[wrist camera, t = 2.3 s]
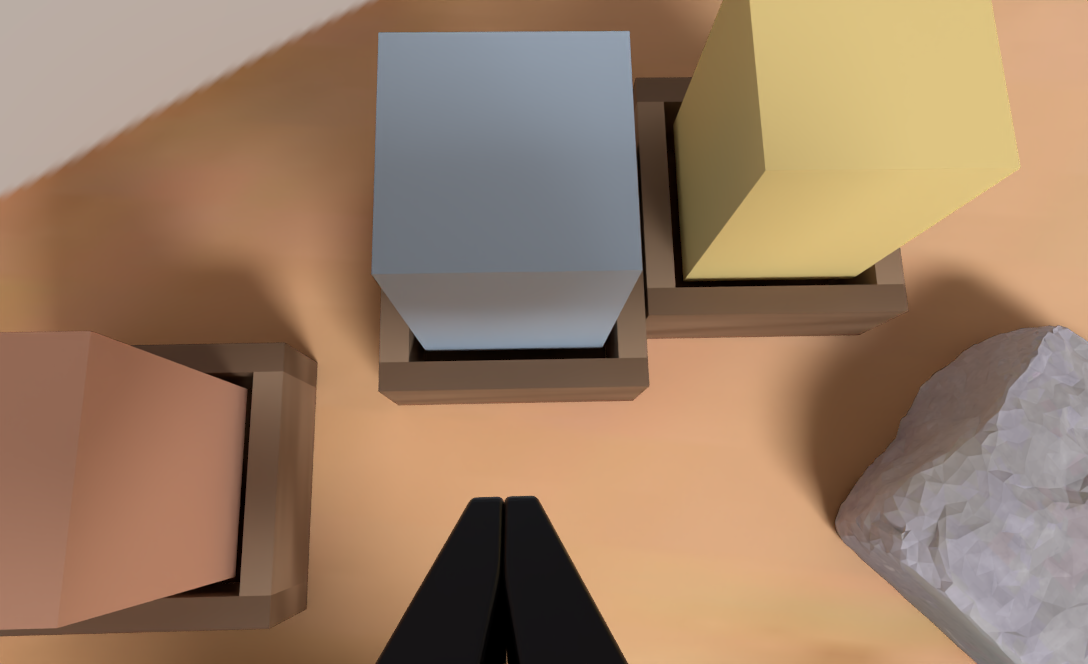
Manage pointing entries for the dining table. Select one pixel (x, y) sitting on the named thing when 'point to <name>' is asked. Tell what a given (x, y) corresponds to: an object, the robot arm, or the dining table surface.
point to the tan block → (111, 477)
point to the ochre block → (835, 133)
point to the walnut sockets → (476, 387)
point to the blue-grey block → (506, 187)
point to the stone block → (989, 500)
